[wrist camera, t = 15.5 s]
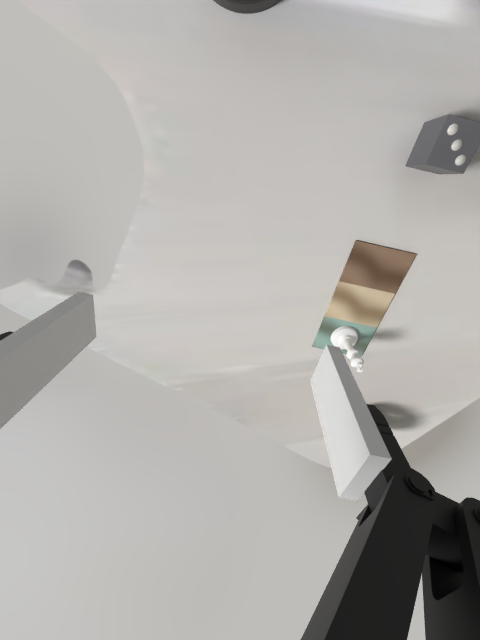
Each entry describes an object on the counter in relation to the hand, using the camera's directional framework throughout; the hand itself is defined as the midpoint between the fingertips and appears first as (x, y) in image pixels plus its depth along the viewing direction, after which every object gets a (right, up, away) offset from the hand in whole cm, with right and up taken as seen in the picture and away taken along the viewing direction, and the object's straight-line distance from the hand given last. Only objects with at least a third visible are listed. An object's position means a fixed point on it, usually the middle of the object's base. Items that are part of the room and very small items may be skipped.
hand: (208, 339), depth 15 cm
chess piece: (+22, -2, +35) cm, 42 cm away
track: (+23, +4, +32) cm, 40 cm away
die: (+28, +24, +21) cm, 42 cm away
